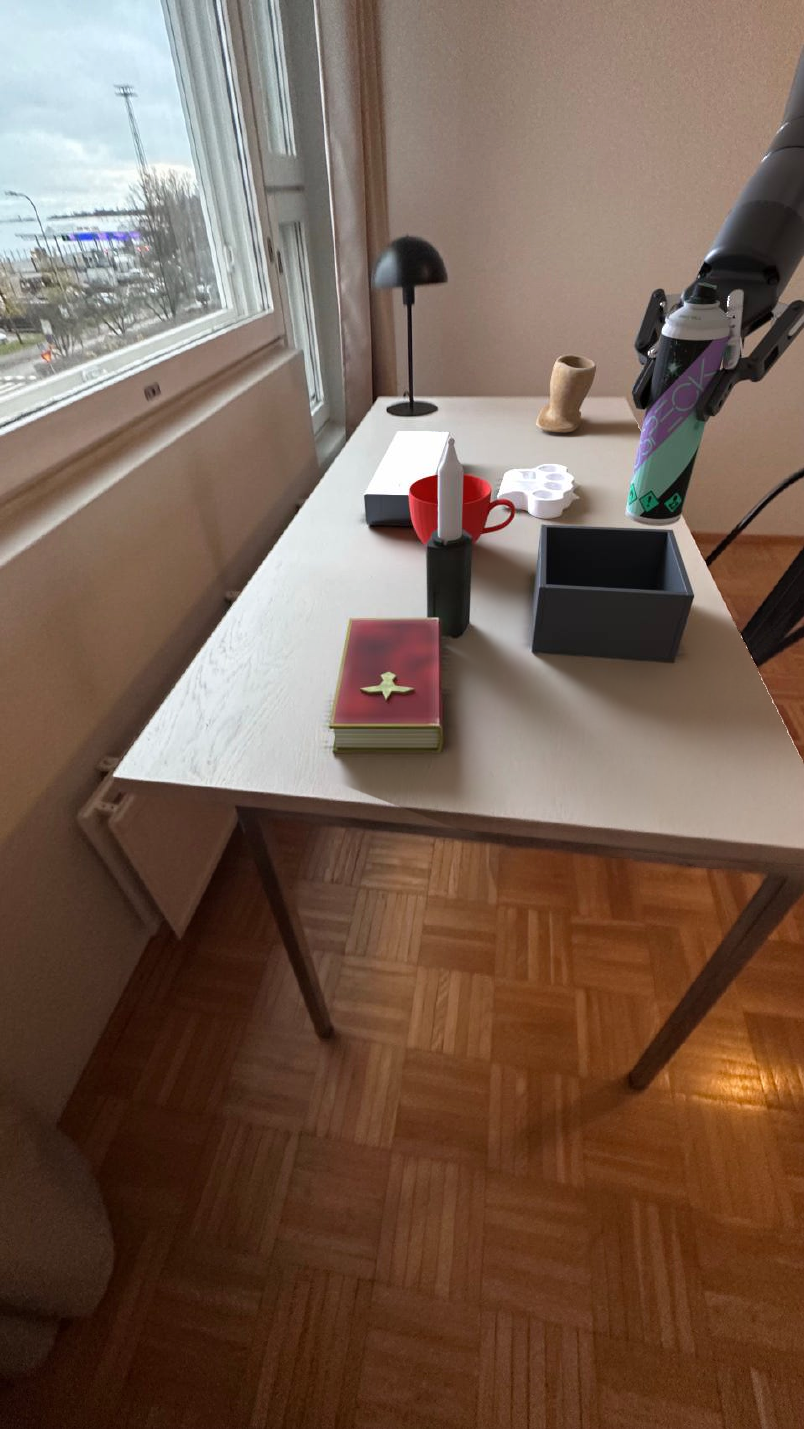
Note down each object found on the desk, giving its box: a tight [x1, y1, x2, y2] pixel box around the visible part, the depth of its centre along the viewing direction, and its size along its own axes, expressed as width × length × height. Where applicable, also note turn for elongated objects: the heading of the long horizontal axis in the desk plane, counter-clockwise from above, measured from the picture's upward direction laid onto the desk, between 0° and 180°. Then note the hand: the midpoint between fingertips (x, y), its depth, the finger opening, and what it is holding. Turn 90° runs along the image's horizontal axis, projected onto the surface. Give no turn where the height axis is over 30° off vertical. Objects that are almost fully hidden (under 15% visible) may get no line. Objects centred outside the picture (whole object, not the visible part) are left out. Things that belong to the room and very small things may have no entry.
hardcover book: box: [328, 617, 444, 754], centre depth 75 cm, size 12×21×4 cm, turn 178°
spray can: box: [625, 283, 732, 527], centre depth 59 cm, size 6×6×20 cm
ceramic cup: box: [409, 473, 516, 547], centre depth 101 cm, size 13×17×10 cm
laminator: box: [363, 430, 451, 527], centre depth 122 cm, size 34×12×6 cm, turn 171°
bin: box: [531, 524, 695, 664], centre depth 84 cm, size 18×18×10 cm
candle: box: [425, 437, 474, 639], centre depth 79 cm, size 5×5×25 cm
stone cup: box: [535, 353, 597, 433], centre depth 146 cm, size 15×12×15 cm
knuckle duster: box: [496, 463, 581, 520], centre depth 118 cm, size 3×18×15 cm
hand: (668, 409), depth 58 cm, fingers closed on spray can, 5 cm apart
